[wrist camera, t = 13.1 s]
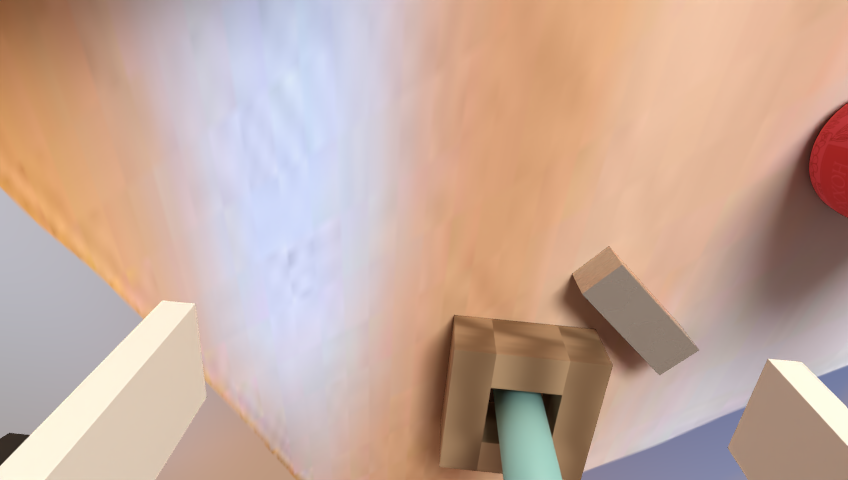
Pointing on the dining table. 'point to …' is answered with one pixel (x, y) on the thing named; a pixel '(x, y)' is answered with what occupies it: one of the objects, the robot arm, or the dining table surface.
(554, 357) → the socket block
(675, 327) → the grey bar
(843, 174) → the wine bottle
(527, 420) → the peg
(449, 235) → the dining table surface
